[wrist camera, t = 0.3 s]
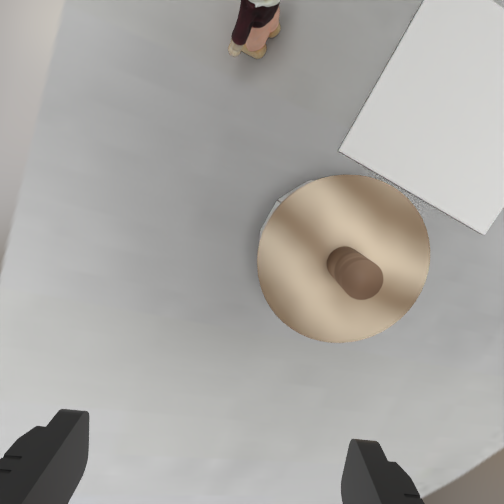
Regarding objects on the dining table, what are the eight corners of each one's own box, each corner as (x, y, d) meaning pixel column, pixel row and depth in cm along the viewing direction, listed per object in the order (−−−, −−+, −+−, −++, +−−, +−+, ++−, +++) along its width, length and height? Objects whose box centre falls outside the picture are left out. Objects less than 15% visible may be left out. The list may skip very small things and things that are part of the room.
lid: (311, 141, 29) (327, 133, 23) (457, 226, 31) (507, 238, 25) (227, 293, 32) (223, 320, 26) (366, 363, 33) (392, 403, 28)
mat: (440, -31, 32) (443, -34, 31) (592, 72, 34) (596, 71, 33) (337, 150, 35) (338, 150, 34) (481, 234, 37) (484, 235, 37)
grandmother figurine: (257, -14, 32) (264, -135, 19) (294, 8, 32) (324, -96, 20) (219, 67, 33) (203, 4, 21) (255, 88, 33) (260, 37, 21)
